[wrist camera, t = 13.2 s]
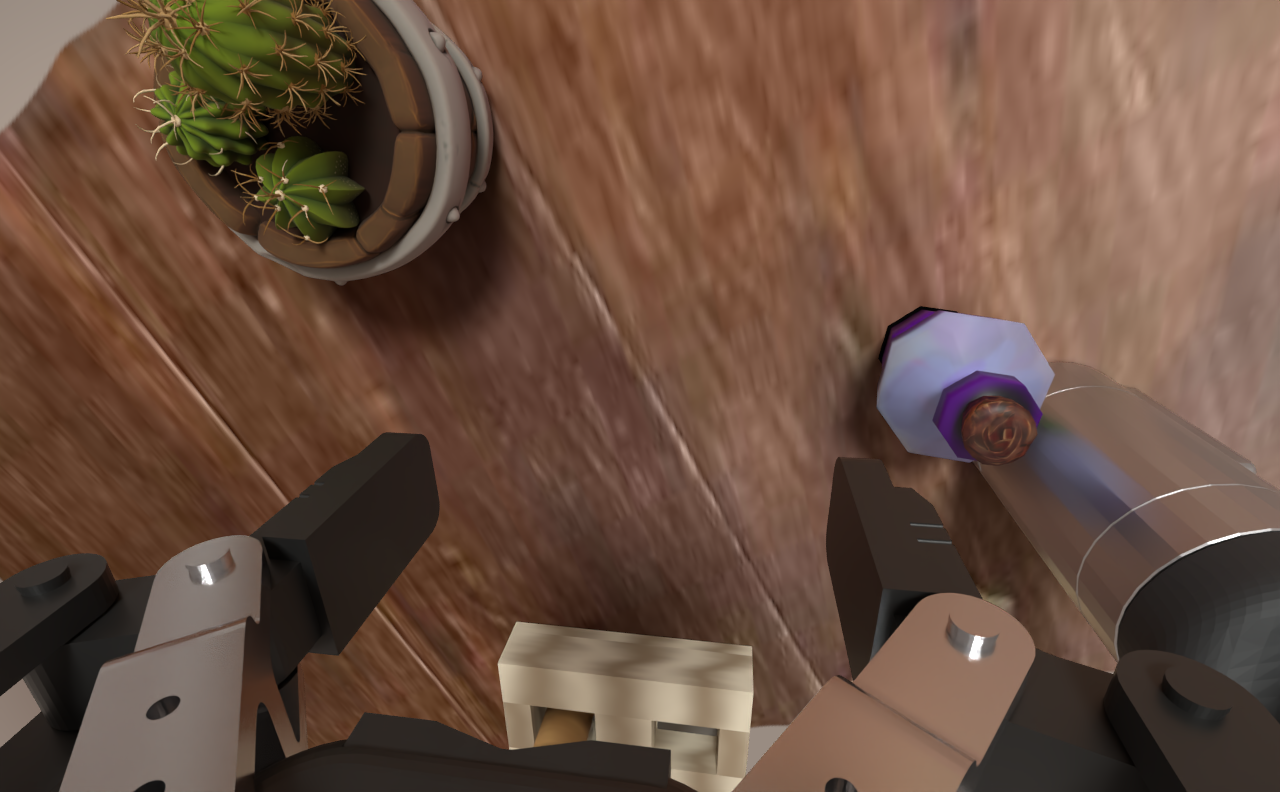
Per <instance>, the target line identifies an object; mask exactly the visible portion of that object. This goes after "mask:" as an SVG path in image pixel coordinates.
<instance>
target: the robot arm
mask: <svg viewBox="0 0 1280 792" xmlns="http://www.w3.org/2000/svg"><path fill="white" fill-rule="evenodd" d="M1048 364H1049V366H1050V367H1051V369H1052V371H1053V372H1054V374H1055V376H1054V378H1053V380H1052V383H1051V385H1050V387H1049V390H1048V392H1047V394H1046V397H1045V399H1044V401H1043V404H1042V406H1041V408H1040V410H1041V412H1042V414H1043V415H1042V417H1041V419H1040V422H1039V424H1038V426H1037V434H1038V435H1037V436H1036V438H1035V439H1034V441H1033V442H1032V444H1031V445H1030V447H1029V449H1028V450H1027V452H1026V454H1025V456H1023V457H1021V458H1019V459H1018V460H1016V461H1014V462H1012V463H1008V464H1004V465H1000V466H993V465H984V464H981V463H980V462H979V461H975V460H974V461H973V463H974V464H975V466H976V467H977V469H978V470H979V471H980V473H981V474H982V476H983V477H984V478H985V480H986V481H987V483H988V484H989V485H990V487H991V488H992V489H993V491H994V492H995V494H996V495H997V497H998V498H999V500H1000V501H1001V502H1002V504H1003V505H1004V507H1005V508H1006V509H1007V511H1008V512H1009V514H1010V515H1011V516H1012V518H1013V519H1014V521H1015V522H1016V523H1017V525H1018V526H1019V528H1020V529H1021V530H1022V532H1023V533H1024V534H1025V536H1026V537H1027V539H1028V540H1029V541H1030V543H1031V544H1032V546H1033V547H1034V548H1035V550H1036V551H1037V553H1038V554H1039V555H1040V557H1041V558H1042V559H1043V561H1044V562H1045V564H1046V565H1047V566H1048V568H1049V569H1050V571H1051V572H1052V573H1053V575H1054V576H1055V578H1056V579H1057V580H1058V582H1059V583H1060V585H1061V586H1062V587H1063V589H1064V590H1065V591H1066V593H1067V594H1068V596H1069V597H1070V598H1071V600H1072V601H1073V603H1074V604H1075V605H1076V607H1077V608H1078V610H1079V611H1080V612H1081V614H1082V615H1083V616H1084V618H1085V619H1086V621H1087V622H1088V623H1089V624H1090V626H1091V627H1092V629H1093V630H1094V631H1095V633H1096V634H1097V636H1098V637H1099V638H1100V640H1101V641H1102V642H1103V644H1104V645H1105V647H1106V648H1107V649H1108V651H1109V652H1110V654H1111V655H1112V656H1113V658H1114V659H1115V661H1116V662H1117V663H1118V664H1117V666H1116V669H1115V671H1114V674H1111V673H1108V672H1104V671H1101V670H1098V669H1095V668H1091V667H1088V666H1085V665H1082V664H1078V663H1075V662H1072V661H1069V660H1065V659H1062V658H1059V657H1056V656H1053V655H1050V654H1048V653H1045V652H1043V651H1041V650H1039V649H1036V648H1035V645H1034V642H1033V640H1032V638H1031V636H1030V634H1029V633H1028V631H1027V630H1026V629H1025V627H1024V626H1023V625H1022V624H1021V623H1020V622H1019V621H1018V620H1017V619H1015V618H1014V617H1013V616H1012V615H1010V614H1009V613H1007V612H1006V611H1004V610H1003V609H1001V608H1000V607H998V606H996V605H994V604H992V603H990V602H987V601H985V600H983V599H982V597H981V595H980V593H979V591H978V589H977V588H976V586H975V584H974V582H973V580H972V578H971V576H970V574H969V572H968V571H967V569H966V567H965V565H964V563H963V561H962V559H961V557H960V556H959V554H958V552H957V550H956V548H955V546H954V545H952V540H951V539H950V537H949V535H948V533H947V531H946V529H945V528H943V524H942V522H941V520H940V518H939V516H938V514H937V512H936V510H935V508H934V507H933V505H932V504H931V503H929V502H928V501H927V500H926V499H924V498H923V497H922V496H921V495H920V494H918V493H917V492H916V491H915V490H913V489H912V488H901V487H894V486H893V484H892V482H891V480H890V477H889V475H888V473H887V471H886V469H885V466H884V464H883V462H882V461H881V460H880V459H865V458H846V457H838V458H837V460H836V463H835V468H834V476H833V484H832V492H831V499H830V507H829V515H828V523H827V533H826V552H827V561H828V566H829V571H830V576H831V580H832V585H833V590H834V594H835V599H836V603H837V608H838V613H839V617H840V622H841V627H842V631H843V636H844V641H845V645H846V650H847V655H848V659H849V664H850V668H851V673H852V678H853V682H851V681H849V680H847V679H846V678H844V677H843V676H840V675H837V676H835V677H833V678H831V679H830V680H829V681H828V682H827V683H826V684H825V685H824V686H823V687H822V688H821V689H820V691H819V692H818V693H817V694H816V695H815V696H814V697H813V699H812V700H811V701H810V702H809V703H808V704H807V705H806V707H805V708H804V709H803V710H802V711H801V712H800V714H799V715H798V716H797V717H796V718H795V719H794V720H793V722H792V723H791V724H790V725H789V726H788V727H787V729H786V730H785V731H784V732H783V733H782V734H781V735H780V737H779V738H778V739H777V740H776V741H775V743H773V745H772V746H771V747H770V748H769V749H768V750H767V752H766V753H765V754H764V755H763V756H762V757H761V759H760V760H759V761H758V762H757V763H756V764H755V765H754V767H753V768H752V769H751V770H750V771H749V772H748V774H747V775H746V776H745V777H744V778H743V779H742V780H741V781H740V783H739V784H738V785H737V786H736V787H735V788H734V790H733V791H732V792H1280V490H1279V489H1277V488H1276V487H1274V486H1273V485H1271V484H1270V483H1268V482H1267V481H1265V480H1264V479H1262V478H1261V477H1259V476H1258V475H1256V468H1255V466H1254V464H1253V463H1252V462H1250V461H1249V460H1247V459H1246V458H1244V457H1243V456H1241V455H1240V454H1238V453H1236V452H1235V451H1233V450H1232V449H1230V448H1229V447H1227V446H1226V445H1224V444H1222V443H1221V442H1219V441H1218V440H1216V439H1215V438H1213V437H1211V436H1210V435H1208V434H1207V433H1205V432H1204V431H1202V430H1200V429H1199V428H1197V427H1196V426H1194V425H1193V424H1191V423H1189V422H1188V421H1186V420H1185V419H1183V418H1182V417H1180V416H1178V415H1177V414H1175V413H1174V412H1172V411H1171V410H1169V409H1167V408H1166V407H1164V406H1163V405H1161V404H1160V403H1158V402H1157V401H1155V400H1153V399H1152V398H1150V397H1149V396H1147V395H1146V394H1144V393H1142V392H1141V391H1139V390H1138V389H1136V388H1125V387H1123V386H1122V385H1120V384H1119V383H1117V382H1115V381H1114V380H1112V379H1111V378H1109V377H1108V376H1106V375H1105V374H1103V373H1101V372H1099V371H1097V370H1095V369H1093V368H1091V367H1089V366H1085V365H1081V364H1077V363H1070V362H1051V363H1048ZM438 516H439V496H438V491H437V485H436V479H435V474H434V468H433V462H432V457H431V451H430V446H429V442H428V440H427V438H426V437H425V436H424V435H422V434H408V433H389V432H387V433H383V434H382V435H380V436H379V437H378V438H377V439H375V440H374V441H373V442H372V443H371V444H370V445H368V446H367V447H366V448H365V449H364V450H363V451H361V452H360V453H359V454H358V455H356V456H354V457H352V458H350V459H348V460H346V461H344V462H342V463H340V464H338V465H336V466H334V467H332V468H331V469H330V470H328V471H327V472H326V473H325V474H324V475H322V476H321V477H320V478H319V479H318V480H316V481H315V484H314V485H310V486H309V487H308V488H307V489H306V490H304V491H303V492H302V493H301V494H300V497H299V498H295V499H294V500H292V501H291V502H290V503H289V504H288V505H286V506H285V507H284V508H283V509H281V510H280V511H279V512H278V513H277V514H275V515H274V516H273V517H272V518H271V519H269V520H268V521H267V522H266V523H265V524H263V525H262V526H261V527H260V528H259V529H257V530H256V531H255V532H254V533H253V534H251V535H250V536H227V537H221V538H217V539H213V540H209V541H206V542H203V543H200V544H198V545H195V546H193V547H191V548H189V549H187V550H185V551H183V552H181V553H179V554H178V555H176V556H175V557H173V558H172V559H170V560H169V561H168V562H167V563H165V564H164V565H163V566H162V567H161V568H160V570H159V571H158V572H157V574H156V575H153V576H146V577H138V578H131V579H123V580H116V581H115V579H114V577H113V575H112V573H111V570H110V568H109V566H108V564H107V562H106V560H105V558H103V557H102V556H100V555H97V554H74V555H68V556H63V557H59V558H55V559H52V560H49V561H46V562H43V563H40V564H37V565H35V566H32V567H30V568H28V569H25V570H23V571H21V572H19V573H17V574H15V575H13V576H12V577H10V578H8V579H7V580H5V581H3V582H2V583H0V696H1V695H2V694H4V693H5V692H6V691H7V690H8V689H10V688H11V687H12V686H13V685H15V684H16V683H17V682H18V681H20V680H21V679H22V678H23V680H24V681H25V683H26V685H27V687H28V688H29V690H30V691H31V693H32V695H33V697H34V699H35V701H36V702H37V704H38V705H39V707H40V709H41V712H40V713H39V714H38V715H37V716H36V717H35V718H34V719H32V720H31V721H30V722H29V723H28V724H27V725H26V726H25V727H23V728H22V729H21V730H20V731H19V732H18V733H17V734H15V735H14V736H13V737H12V738H11V739H10V740H9V741H7V742H6V743H5V744H4V745H3V746H2V747H1V748H0V792H698V791H696V790H694V789H693V788H691V787H689V786H687V785H686V784H683V783H681V782H679V781H676V780H674V779H672V778H671V750H669V749H661V748H652V747H644V746H636V745H628V744H620V743H611V742H603V741H595V740H588V741H580V742H571V743H563V744H555V745H547V746H538V747H530V748H522V749H513V750H507V749H501V748H498V747H495V746H493V745H491V744H488V743H486V742H484V741H481V740H479V739H477V738H474V737H472V736H470V735H467V734H465V733H463V732H460V731H458V730H456V729H453V728H451V727H448V726H446V725H444V724H441V723H439V722H437V721H431V720H423V719H414V718H406V717H398V716H390V715H382V714H373V713H364V714H363V716H362V717H361V719H360V721H359V722H358V724H357V725H356V727H355V728H354V730H353V732H352V733H351V735H350V736H349V738H348V739H347V740H340V741H336V742H331V743H327V744H323V745H319V746H316V747H313V748H310V749H308V741H307V722H306V702H305V683H304V674H303V670H302V667H301V664H300V661H301V660H302V659H303V658H304V657H305V655H306V654H307V653H308V652H310V653H319V654H329V655H338V656H339V654H340V653H341V652H342V650H343V649H344V648H345V646H346V645H347V644H348V642H349V641H350V640H351V638H352V637H353V636H354V635H355V633H356V632H357V631H358V629H359V628H360V627H361V625H362V624H363V623H364V621H365V620H366V619H367V617H368V616H369V615H370V613H371V612H372V611H373V609H374V608H375V607H376V606H377V604H378V603H379V602H380V600H381V599H382V598H383V596H384V595H385V594H386V592H387V591H388V590H389V588H390V587H391V586H392V584H393V583H394V582H395V580H396V579H397V578H398V577H399V575H400V574H401V573H402V571H403V570H404V569H405V567H406V566H407V565H408V563H409V562H410V561H411V559H412V558H413V557H414V555H415V554H416V553H417V551H418V550H419V549H420V548H421V546H422V545H423V544H424V542H425V541H426V540H427V538H428V537H429V536H430V534H431V533H432V532H433V530H434V528H435V526H436V523H437V520H438Z"/></svg>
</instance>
